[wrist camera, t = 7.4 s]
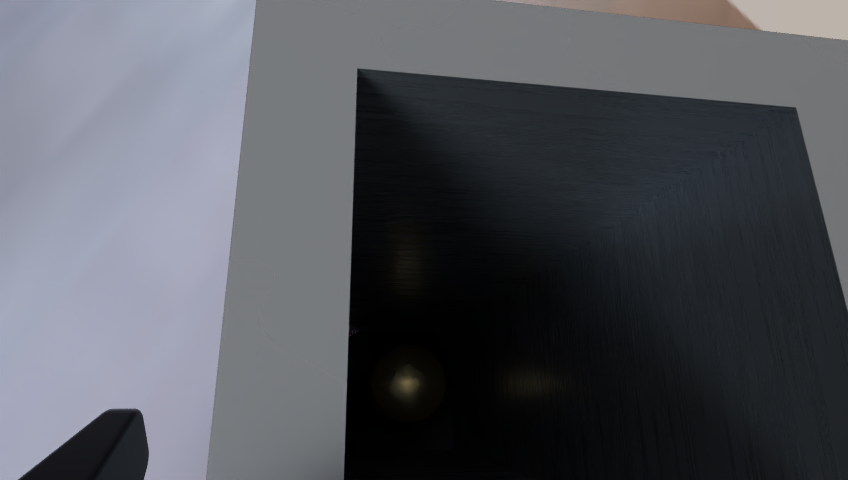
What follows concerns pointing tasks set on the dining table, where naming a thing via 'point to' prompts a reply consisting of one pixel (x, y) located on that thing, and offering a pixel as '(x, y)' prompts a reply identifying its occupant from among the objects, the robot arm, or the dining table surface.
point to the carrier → (399, 391)
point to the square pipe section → (540, 242)
